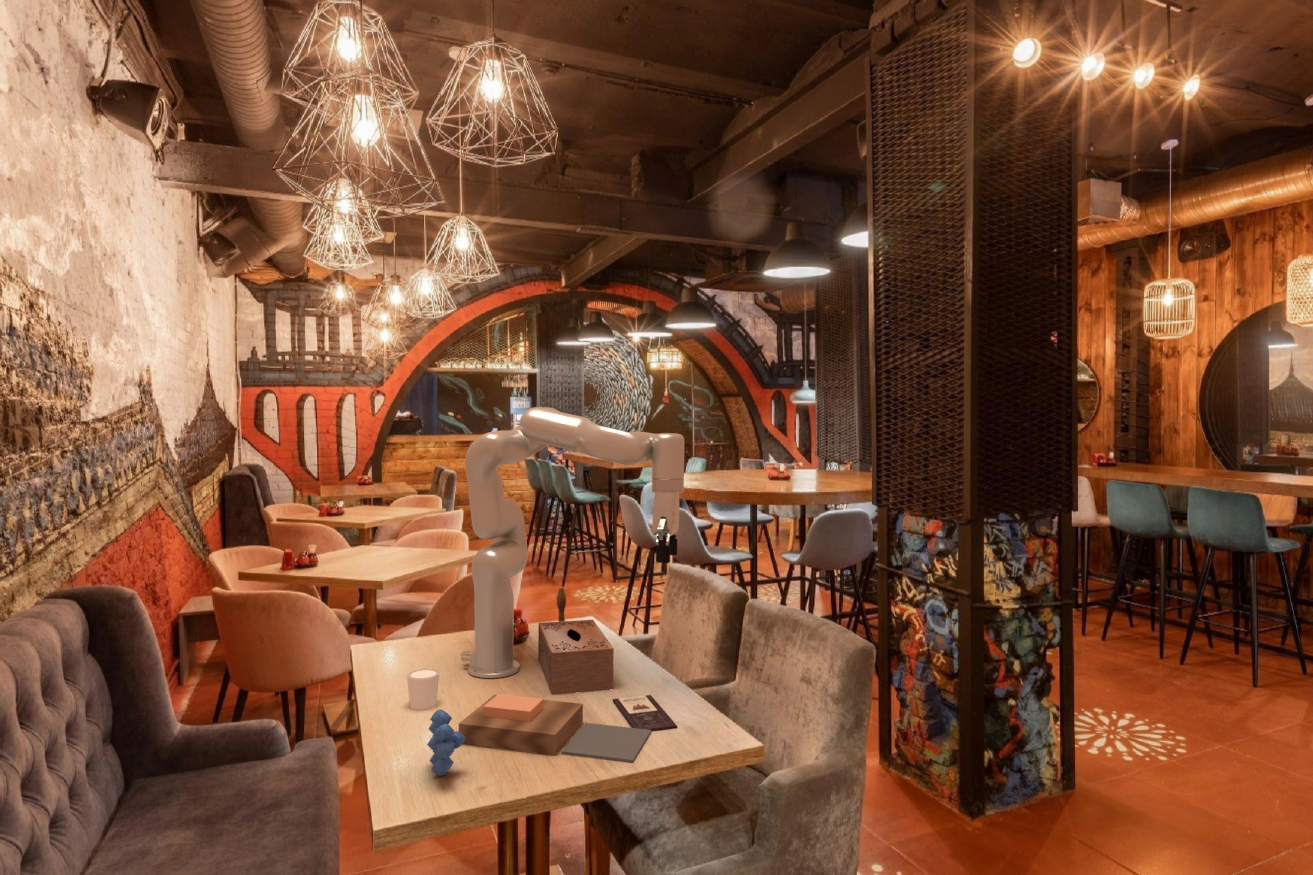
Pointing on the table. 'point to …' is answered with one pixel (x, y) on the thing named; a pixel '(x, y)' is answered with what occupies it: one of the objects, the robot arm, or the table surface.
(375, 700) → the table surface
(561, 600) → the hand bell
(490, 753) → the table surface
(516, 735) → the stand
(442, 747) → the grapes
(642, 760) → the table surface
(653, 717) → the chocolate bar
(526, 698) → the orange flat block
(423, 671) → the pale tapered cup
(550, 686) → the tissue box cover
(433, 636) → the table surface
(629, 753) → the mat
